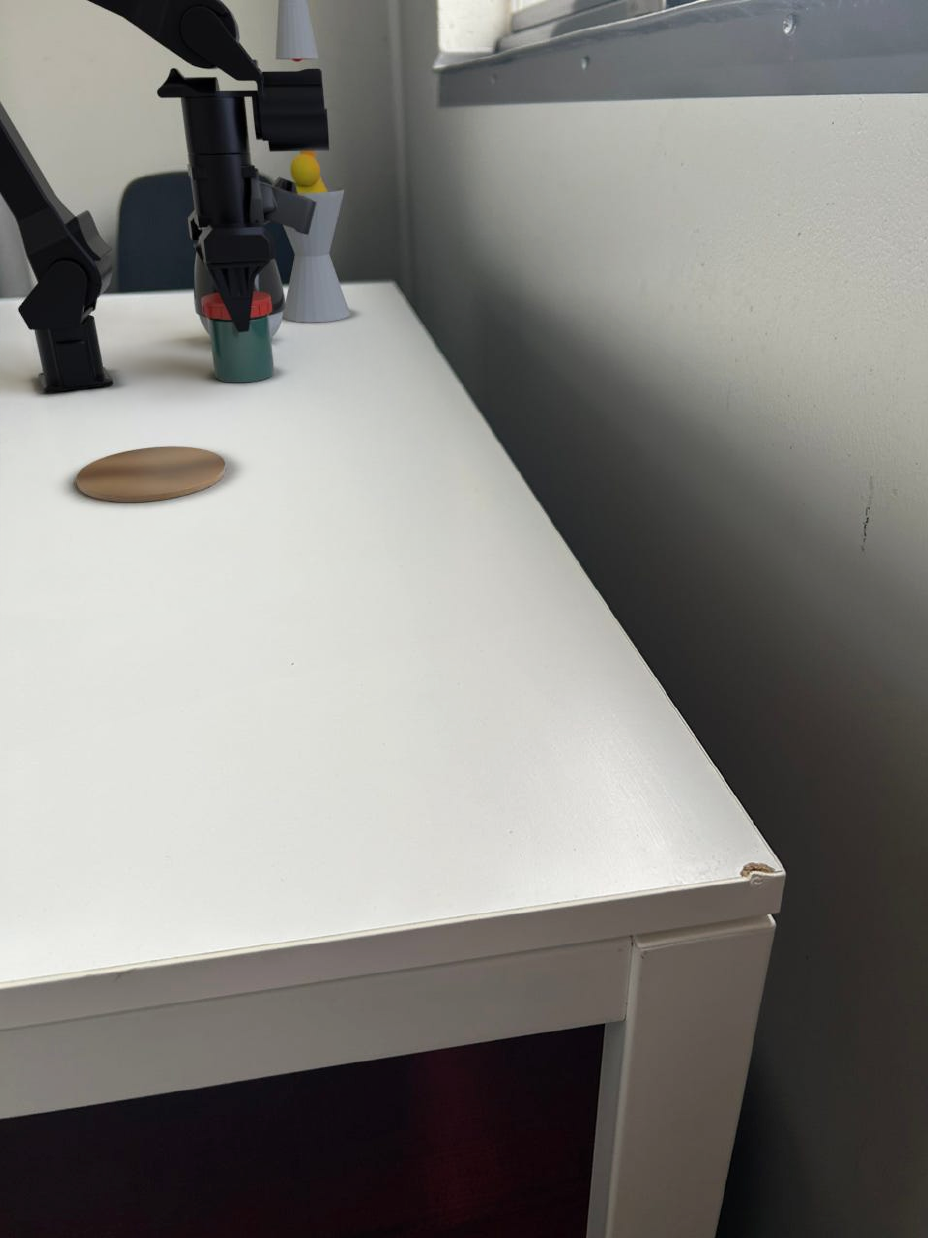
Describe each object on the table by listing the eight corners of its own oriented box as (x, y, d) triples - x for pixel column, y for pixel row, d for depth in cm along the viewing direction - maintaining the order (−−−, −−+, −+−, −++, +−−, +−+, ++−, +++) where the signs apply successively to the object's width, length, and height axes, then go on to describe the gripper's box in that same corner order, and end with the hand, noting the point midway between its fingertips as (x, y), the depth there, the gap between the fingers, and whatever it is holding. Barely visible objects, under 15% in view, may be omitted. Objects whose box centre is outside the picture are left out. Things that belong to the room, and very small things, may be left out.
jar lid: (188, 315, 97) (186, 300, 97) (232, 303, 103) (230, 288, 102) (243, 321, 95) (241, 305, 94) (285, 308, 100) (284, 293, 99)
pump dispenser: (271, 353, 110) (256, 205, 102) (184, 349, 112) (164, 204, 104) (302, 333, 118) (291, 195, 111) (221, 329, 120) (205, 194, 113)
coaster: (69, 464, 78) (68, 458, 78) (208, 444, 82) (207, 438, 82) (87, 512, 69) (86, 505, 69) (242, 486, 73) (241, 480, 73)
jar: (209, 371, 103) (199, 300, 99) (265, 365, 105) (258, 295, 102) (223, 385, 98) (213, 311, 95) (281, 378, 100) (274, 305, 97)
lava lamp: (283, 309, 131) (254, -2, 114) (351, 307, 132) (333, -2, 115) (279, 323, 123) (248, -8, 106) (352, 321, 124) (332, -8, 107)
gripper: (324, 156, 86) (336, 337, 93) (289, 145, 102) (302, 301, 109) (193, 160, 83) (217, 347, 90) (178, 148, 99) (199, 309, 106)
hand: (239, 324), depth 99 cm, fingers closed on jar lid, 7 cm apart
